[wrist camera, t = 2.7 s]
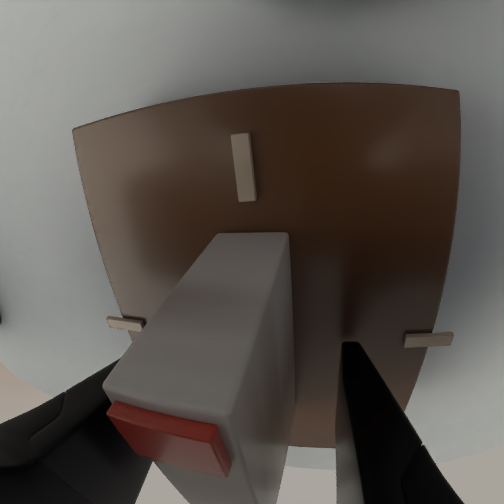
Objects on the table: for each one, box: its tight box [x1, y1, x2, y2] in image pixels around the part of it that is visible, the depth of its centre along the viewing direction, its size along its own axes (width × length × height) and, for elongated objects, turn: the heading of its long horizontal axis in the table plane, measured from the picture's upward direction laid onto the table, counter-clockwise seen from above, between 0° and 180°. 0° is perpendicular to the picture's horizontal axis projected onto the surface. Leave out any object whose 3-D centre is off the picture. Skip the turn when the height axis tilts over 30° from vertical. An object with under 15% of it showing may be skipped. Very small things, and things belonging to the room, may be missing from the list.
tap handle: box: [103, 232, 296, 504], centre depth 6 cm, size 6×2×5 cm, turn 6°
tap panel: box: [72, 82, 461, 448], centre depth 9 cm, size 12×10×3 cm
